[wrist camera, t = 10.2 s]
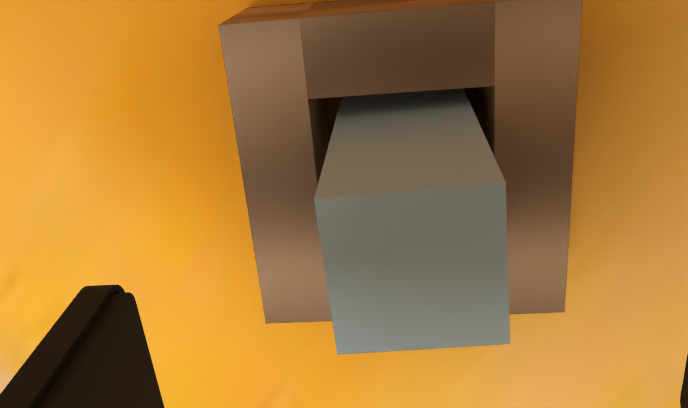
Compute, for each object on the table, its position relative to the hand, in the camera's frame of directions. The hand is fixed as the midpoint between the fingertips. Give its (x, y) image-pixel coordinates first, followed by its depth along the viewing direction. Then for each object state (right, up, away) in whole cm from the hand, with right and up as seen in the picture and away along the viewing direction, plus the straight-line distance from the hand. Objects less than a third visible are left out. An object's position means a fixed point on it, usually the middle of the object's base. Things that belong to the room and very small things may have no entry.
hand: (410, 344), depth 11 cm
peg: (+1, +5, +13) cm, 14 cm away
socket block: (+1, +5, +13) cm, 14 cm away
